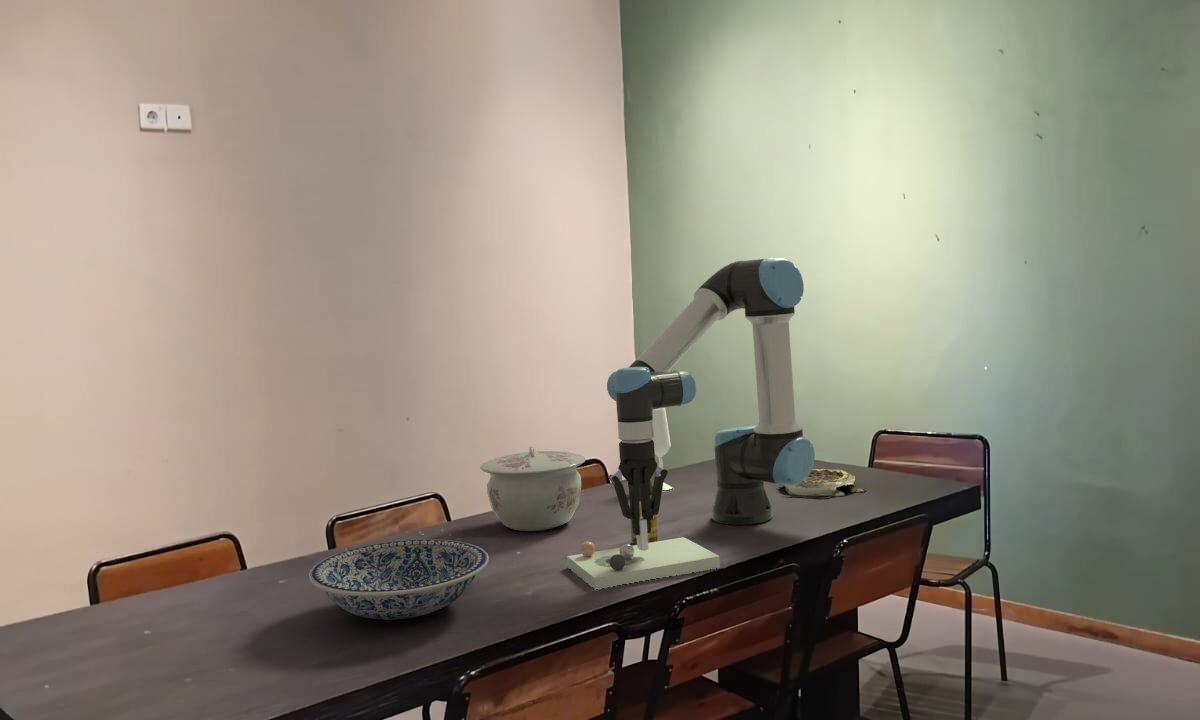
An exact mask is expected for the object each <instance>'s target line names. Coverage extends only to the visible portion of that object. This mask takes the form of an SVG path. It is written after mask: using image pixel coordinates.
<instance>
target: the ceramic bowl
mask: <svg viewBox="0 0 1200 720" xmlns="http://www.w3.org/2000/svg"><path fill="white" fill-rule="evenodd" d="M488 564H489V554H488V553H487V552H486V550H484V549H483V548H482V547H479V546H478V545H474V544H471V543H468V542H464V541H459V540H451V539H450V540H449V539H436V538H435V539H433V538H422V539H421V538H419V539H403V540H402V539H401V540H392V541H385V542H384V541H383V542H379V543H378V542H377V543H372V544H367V545H363V546H359V547H354V548H351V549H346V550H345V551H340V552H338V553H335V554H333V555H330V556H328V557H326V558H324V559H322V560H321V561H319V562H317V563H316V564H315V565H314V566H313V567H311V569H310V570H309V574H308V580H309V582H310V583H311V584H312V585H313V586H314V587H315V588H317V589H319V590H322V591H324V592H325V594H326V595H327V596H328V597H329V598H330V600H332V601H333V602H334V603H335V604H336V605H337V606H338V607H340V608H341V609H343V610H345V611H347V612H349V613H350V614H352V615H353V614H354V615H355V616H358V617H362V618H367V619H372V620H373V619H374V620H386V621H387V620H389V621H390V620H403V619H410V618H416V617H420V616H425V615H428V614H431V613H435V612H437V611H439V610H442V609H444V608H446V607H447V606H448V605H451V604H452V603H454V602H455V601H456V600H457V599H458V598H460V597H461V595H464V593H465V592H466V591H467V590H468V588H469V587H470V585H472V583H473V581H474V579H475V577H476V575H478V574H479V573H481V572H482V571H483V570H485V569H486V568H487V566H488Z"/></svg>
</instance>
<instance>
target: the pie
mask: <svg viewBox="0 0 1200 720" xmlns="http://www.w3.org/2000/svg"><path fill="white" fill-rule="evenodd" d="M855 481H856V476H855V475H853V474H851V472H847V470H843V469H836V468H835V469H829V468H828V469H826V468H821V469H818V468H812V470H811V472H810V473H809V474H808V477H807V478H806V479H805V480H804V481H803V482H801V483H799V484H797V485H783V486H784V487H785V491H786V492H787V493H788V495H789V496H787V498H790V497H792V498H793V497H794V498H795V497H796V498H805V499H812V497H815V500H816V499H818V500H823V499H830V498H832V497H841V496H842V497H843V496H845V495H846V494H845V493H844V492H843V491H839V490H837V488H839V487H842V488H845V489H848V491H849V492H851V493H864V492H866V491H868V489H869V487H867V488H866V489H864V488H856V487H855ZM819 496H828V497H819Z"/></svg>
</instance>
